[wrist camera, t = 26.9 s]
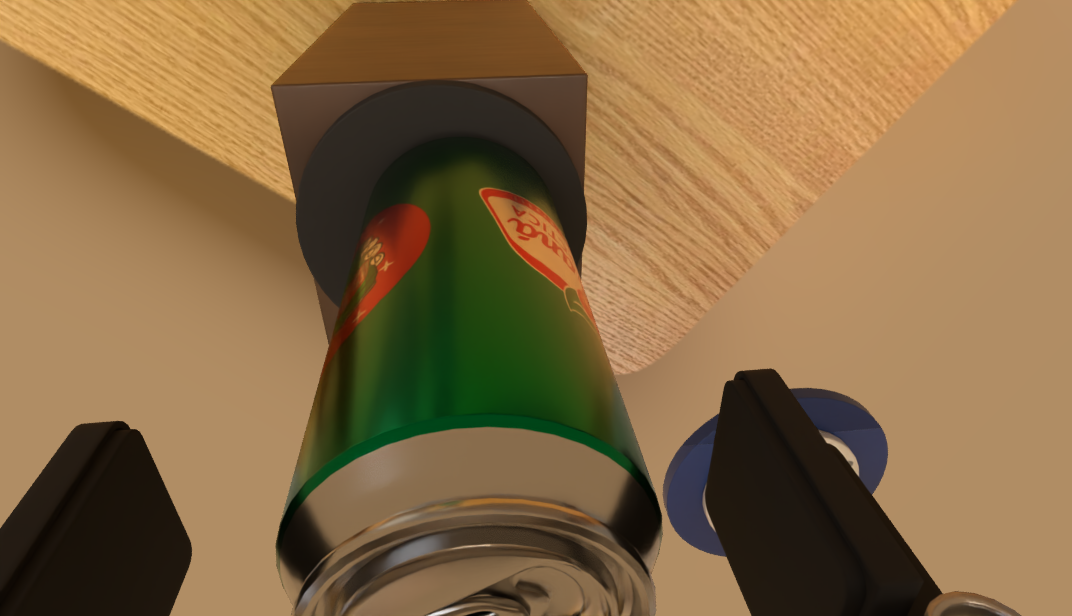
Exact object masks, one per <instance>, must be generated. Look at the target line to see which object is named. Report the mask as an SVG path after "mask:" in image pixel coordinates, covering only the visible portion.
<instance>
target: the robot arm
mask: <svg viewBox="0 0 1072 616" xmlns="http://www.w3.org/2000/svg"><path fill="white" fill-rule="evenodd" d="M702 505H703V509H704V513H705V515H706V517H707V519H708V522H709V524H710V526H711V527H712V528H713V529H714V531H715V532H716V533H717V535H718V538H719V540H720V543H721V545H722V547H723V550H724V552H725V554H726V557H727V559H728V561H729V564H730V566H731V568H732V571H733V573H734V575H735V578H736V580H737V583H738V585H739V587H740V590H741V592H742V594H743V597H744V599H745V601H746V604H747V606H748V609H749V611H750V613H751V616H1021V615H1020V614H1018V613H1017V612H1016V611H1015V610H1013V609H1011V608H1009V607H1007V606H1005V605H1003V604H1002V603H999V602H998V601H996V600H994V599H991V598H988V597H985V596H982V595H978V594H975V593H969V592H968V593H967V592H958V591H955V592H950V593H945V594H943V593H942V592H941V591H940V589H939V588H938V586H937V585H936V584H935V582H934V581H933V580H932V578H931V577H930V575H929V574H928V573H927V571H926V570H925V568H924V567H923V566H922V564H921V563H920V561H919V560H918V559H917V557H916V556H915V555H914V553H913V552H912V550H911V549H910V547H909V546H908V545H907V543H906V542H905V541H904V539H903V538H902V536H901V535H900V533H899V532H898V531H897V530H896V528H895V527H894V525H893V524H892V522H891V521H890V520H889V518H888V517H887V516H886V514H885V513H884V511H883V510H882V509H881V507H880V506H879V504H878V503H877V501H876V500H875V499H874V497H873V496H872V494H871V493H870V492H869V490H868V489H867V488H866V486H865V485H864V483H863V482H862V481H861V479H860V478H859V466H858V463H857V460H856V457H855V456H854V454H853V453H852V452H851V450H850V449H849V447H848V446H847V445H846V444H845V443H844V442H843V441H842V440H841V439H840V438H838V437H836V436H834V435H833V434H831V433H828V432H824V431H821V430H818V429H817V428H816V427H815V425H814V424H813V422H812V421H811V419H810V418H809V417H808V415H807V414H806V412H805V411H804V409H803V408H802V407H801V405H800V404H799V402H798V401H797V400H796V398H795V397H794V395H793V394H792V392H791V391H790V390H789V388H788V387H787V385H786V384H785V382H784V381H783V380H782V378H781V377H780V375H779V374H778V373H777V372H776V371H775V370H773V369H760V370H747V371H739V372H737V373H736V375H735V377H734V380H731V381H727V382H726V384H725V386H724V391H723V396H722V402H721V407H720V413H719V418H718V423H717V429H716V434H715V440H714V445H713V451H712V456H711V461H710V467H709V472H708V478H707V483H706V485H705V489H704V492H703V500H702ZM191 556H192V547H191V542H190V539H189V537H188V535H187V533H186V530H185V528H184V526H183V524H182V522H181V520H180V517H179V515H178V513H177V511H176V509H175V506H174V504H173V502H172V500H171V498H170V495H169V493H168V491H167V489H166V487H165V485H164V482H163V480H162V478H161V476H160V474H159V472H158V469H157V467H156V465H155V463H154V460H153V458H152V456H151V454H150V452H149V449H148V447H147V445H146V443H145V441H144V438H143V436H142V435H141V433H140V432H139V431H138V430H136V429H130V427H129V426H128V425H127V424H126V423H125V422H123V421H113V422H99V423H88V424H80V425H78V426H76V427H75V428H74V429H73V430H72V431H71V433H70V434H69V435H68V437H67V438H66V440H65V441H64V442H63V443H62V445H61V446H60V448H59V449H58V450H57V452H56V453H55V455H54V456H53V457H52V458H51V460H50V461H49V463H48V464H47V465H46V467H45V468H44V469H43V471H42V472H41V474H40V475H39V477H38V478H37V479H36V480H35V482H34V483H33V484H32V486H31V487H30V489H29V490H28V491H27V493H26V494H25V495H24V497H23V498H22V500H21V501H20V502H19V504H18V505H17V507H16V508H15V509H14V510H13V512H12V513H11V515H10V516H9V517H8V519H7V520H6V521H5V523H4V524H3V525H2V527H1V528H0V616H169V615H170V613H171V610H172V608H173V605H174V603H175V600H176V598H177V595H178V593H179V590H180V588H181V585H182V583H183V580H184V578H185V575H186V573H187V570H188V568H189V565H190V562H191Z"/></svg>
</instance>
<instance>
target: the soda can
mask: <svg viewBox="0 0 1072 616" xmlns="http://www.w3.org/2000/svg"><path fill="white" fill-rule="evenodd" d="M662 535H663V533H662V514H661V510H660V507H659V503H658V500H657V496H656V493H655V490H654V487H653V485H652V482H651V479H650V476H649V473H648V470H647V467H646V465H645V462H644V459H643V456H642V453H641V451H640V447H639V445H638V442H637V439H636V436H635V433H634V430H633V428H632V425H631V422H630V419H629V416H628V413H627V411H626V408H625V405H624V402H623V399H622V396H621V393H620V391H619V388H618V385H617V382H616V379H615V377H614V373H613V371H612V368H611V365H610V362H609V359H608V356H607V353H606V351H605V348H604V345H603V342H602V339H601V336H600V334H599V331H598V328H597V325H596V322H595V319H594V316H593V314H592V311H591V308H590V305H589V302H588V299H587V296H586V294H585V291H584V288H583V285H582V282H581V279H580V277H579V274H578V271H577V268H576V265H575V262H574V259H573V257H572V254H571V251H570V248H569V245H568V242H567V239H566V237H565V234H564V231H563V228H562V225H561V222H560V220H559V217H558V214H557V211H556V208H555V205H554V202H553V200H552V197H551V194H550V192H549V190H548V188H547V186H546V184H545V182H544V180H543V179H542V178H541V176H540V175H539V174H538V172H537V171H536V170H535V169H534V168H533V167H532V166H531V165H530V164H529V163H528V162H527V161H526V160H525V159H524V158H522V157H521V156H520V155H518V154H517V153H515V152H514V151H512V150H510V149H508V148H506V147H504V146H502V145H500V144H498V143H495V142H492V141H488V140H485V139H481V138H474V137H447V138H441V139H435V140H432V141H429V142H426V143H423V144H420V145H418V146H416V147H414V148H412V149H410V150H409V151H407V152H405V153H404V154H403V155H401V156H400V157H399V158H397V159H396V160H395V161H393V163H392V164H391V165H390V166H389V167H388V168H387V169H386V170H385V171H384V172H383V174H382V175H381V177H380V178H379V180H378V181H377V183H376V184H375V186H374V189H373V191H372V194H371V196H370V198H369V202H368V206H367V209H366V213H365V217H364V220H363V224H362V228H361V231H360V235H359V238H358V242H357V246H356V249H355V253H354V257H353V260H352V264H351V267H350V271H349V275H348V278H347V282H346V286H345V289H344V293H343V297H342V300H341V304H340V307H339V311H338V315H337V318H336V322H335V326H334V329H333V333H332V337H331V340H330V344H329V348H328V351H327V355H326V358H325V362H324V366H323V369H322V373H321V377H320V381H319V384H318V388H317V391H316V395H315V398H314V402H313V406H312V410H311V413H310V417H309V420H308V424H307V427H306V431H305V435H304V438H303V442H302V446H301V449H300V453H299V457H298V460H297V464H296V467H295V471H294V475H293V478H292V482H291V486H290V490H289V493H288V496H287V500H286V504H285V507H284V511H283V515H282V518H281V522H280V526H279V531H278V536H277V540H276V566H277V569H278V572H279V575H280V579H281V582H282V586H283V588H284V589H285V592H286V594H287V596H288V597H289V599H290V601H291V603H292V605H293V609H292V613H291V616H655V613H656V596H655V586H654V582H653V579H652V576H651V574H652V571H653V568H654V566H655V563H656V560H657V557H658V554H659V550H660V545H661V540H662Z"/></svg>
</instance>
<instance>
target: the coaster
mask: <svg viewBox="0 0 1072 616" xmlns="http://www.w3.org/2000/svg"><path fill="white" fill-rule="evenodd" d="M447 137H474V138H481V139H485V140H488V141H492V142H495V143H498V144H500V145H502V146H504V147H506V148H508V149H510V150H512V151H514V152H515V153H517V154H518V155H520V156H521V157H522V158H524V159H525V160H526V161H527V162H528V163H529V164H530V165H531V166H532V167H533V168H534V169H535V170H536V171H537V172H538V174H539V175H540V176H541V178H542V179H543V180H544V182H545V184H546V186H547V188H548V190H549V192H550V194H551V197H552V200H553V202H554V205H555V208H556V211H557V214H558V217H559V220H560V222H561V225H562V228H563V231H564V234H565V237H566V239H567V242H568V245H569V248H570V251H571V254H572V257H573V259H574V262H575V265H576V268H577V266H578V263H579V261H580V258H581V256H582V252H583V247H584V243H585V238H586V229H587V210H586V202H585V196H584V191H583V187H582V184H581V181H580V178H579V175H578V172H577V170H576V168H575V166H574V164H573V162H572V160H571V158H570V156H569V154H568V152H567V150H566V149H565V147H564V146H563V144H562V143H561V141H560V140H559V139H558V137H557V136H556V134H555V133H554V132H553V131H552V130H551V129H550V128H549V127H548V126H547V125H546V123H545V122H544V121H543V120H541V119H540V118H539V117H538V116H537V115H535V114H534V113H533V112H532V111H531V110H529V109H528V108H526V107H525V106H523V105H522V104H520V103H519V102H517V101H515V100H514V99H512V98H510V97H508V96H506V95H504V94H501V93H499V92H497V91H495V90H492V89H489V88H486V87H482V86H479V85H476V84H471V83H465V82H459V81H453V80H426V81H417V82H410V83H406V84H402V85H398V86H393V87H390V88H388V89H385V90H383V91H380V92H378V93H375V94H373V95H371V96H369V97H367V98H366V99H364V100H362V101H361V102H359V103H357V104H355V105H354V106H353V107H351V108H350V109H349V110H348V111H346V112H345V113H344V114H343V115H341V116H340V117H339V118H338V119H337V120H336V121H335V122H334V123H333V124H332V125H331V127H330V128H329V129H328V130H327V131H326V132H325V134H324V135H323V137H322V138H321V139H320V141H319V142H318V144H317V145H316V147H315V148H314V150H313V152H312V154H311V156H310V158H309V160H308V162H307V164H306V166H305V169H304V171H303V175H302V178H301V181H300V184H299V188H298V195H297V202H296V225H297V232H298V238H299V242H300V246H301V249H302V252H303V255H304V258H305V260H306V262H307V265H308V267H309V269H310V271H311V273H312V275H313V277H314V278H315V280H316V281H317V283H318V284H319V286H320V288H321V289H322V290H323V291H324V293H325V294H326V295H327V296H328V297H329V299H330V300H331V301H332V302H333V303H334V304H335V305H336V306H337V307H338V308H339V307H340V304H341V300H342V297H343V293H344V289H345V286H346V282H347V278H348V275H349V271H350V267H351V264H352V260H353V257H354V253H355V249H356V246H357V242H358V238H359V235H360V231H361V228H362V224H363V220H364V217H365V213H366V209H367V206H368V202H369V198H370V196H371V194H372V191H373V189H374V186H375V184H376V183H377V181H378V180H379V178H380V177H381V175H382V174H383V172H384V171H385V170H386V169H387V168H388V167H389V166H390V165H391V164H392V163H393V161H395V160H396V159H397V158H399V157H400V156H401V155H403V154H404V153H405V152H407V151H409V150H410V149H412V148H414V147H416V146H418V145H420V144H423V143H426V142H429V141H432V140H435V139H441V138H447Z"/></svg>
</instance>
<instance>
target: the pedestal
mask: <svg viewBox="0 0 1072 616" xmlns="http://www.w3.org/2000/svg"><path fill="white" fill-rule="evenodd" d="M426 80H453V81H459V82H465V83H471V84H476V85H479V86H482V87H486V88H489V89H492V90H495V91H497V92H499V93H501V94H504V95H506V96H508V97H510V98H512V99H514V100H515V101H517V102H519V103H520V104H522V105H523V106H525V107H526V108H528V109H529V110H531V111H532V112H533V113H534V114H535V115H537V116H538V117H539V118H540V119H541V120H543V121H544V122H545V123H546V125H547V126H548V127H549V128H550V129H551V130H552V131H553V132H554V133H555V134H556V136H557V137H558V139H559V140H560V141H561V143H562V144H563V146H564V147H565V149H566V150H567V152H568V154H569V156H570V158H571V160H572V162H573V164H574V166H575V168H576V170H577V172H578V175H579V178H580V181H581V184H582V187H583V191H584V175H585V143H586V112H587V80H588V75H587V73H586V72H585V71H584V70H583V68H582V67H581V66H580V65H579V64H578V62H577V61H576V60H575V59H574V58H573V56H572V55H571V54H570V53H569V51H568V50H567V49H566V48H565V47H564V45H563V44H562V43H561V42H560V40H559V39H558V38H557V37H556V36H555V34H554V33H553V32H552V31H551V29H550V28H549V27H548V26H547V25H546V23H545V22H544V21H543V20H542V19H541V17H540V16H539V15H538V14H537V12H536V11H535V10H534V9H533V8H532V6H531V5H530V4H529V3H528V1H527V0H464V1H425V2H386V3H353V4H352V5H351V6H350V7H349V8H348V9H347V10H346V11H345V12H344V13H343V14H342V15H341V16H340V17H339V18H338V19H337V20H336V21H335V22H334V23H333V24H332V25H331V26H330V27H329V28H328V29H327V30H326V31H325V32H324V33H323V34H322V35H321V36H320V37H319V38H318V39H317V40H316V41H315V42H314V43H313V44H312V45H311V46H310V47H309V48H308V49H307V50H306V51H305V52H304V53H303V54H302V55H301V56H300V57H299V58H298V59H297V60H296V61H295V62H294V63H293V64H292V65H291V66H290V67H289V68H288V69H287V70H286V71H285V72H284V73H283V74H282V75H281V76H280V77H279V78H278V79H277V80H276V81H275V82H274V83H273V84H272V85H271V90H272V95H273V99H274V104H275V108H276V113H277V117H278V121H279V126H280V130H281V135H282V139H283V144H284V148H285V153H286V157H287V161H288V166H289V170H290V175H291V179H292V184H293V188H294V193H295V197H296V201H297V195H298V188H299V184H300V181H301V178H302V175H303V171H304V169H305V166H306V164H307V162H308V160H309V158H310V156H311V154H312V152H313V150H314V148H315V147H316V145H317V144H318V142H319V141H320V139H321V138H322V137H323V135H324V134H325V132H326V131H327V130H328V129H329V128H330V127H331V125H332V124H333V123H334V122H335V121H336V120H337V119H338V118H339V117H340V116H341V115H343V114H344V113H345V112H346V111H348V110H349V109H350V108H351V107H353V106H354V105H355V104H357V103H359V102H361V101H362V100H364V99H366V98H367V97H369V96H371V95H373V94H375V93H378V92H380V91H383V90H385V89H388V88H390V87H393V86H398V85H402V84H406V83H410V82H417V81H426ZM577 271H578V274H579V277H580V279H581V271H582V256H581V258H580V261H579V263H578V266H577ZM314 281H315V285H316V290H317V295H318V299H319V304H320V308H321V312H322V317H323V321H324V325H325V330H326V335H327V339H328V344H330V340H331V337H332V333H333V329H334V326H335V322H336V318H337V315H338V311H339V308H338V307H337V306H336V305H335V304H334V303H333V302H332V301H331V300H330V299H329V297H328V296H327V295H326V294H325V293H324V291H323V290H322V289H321V288H320V286H319V284H318V283H317V281H316V280H315V278H314Z"/></svg>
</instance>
